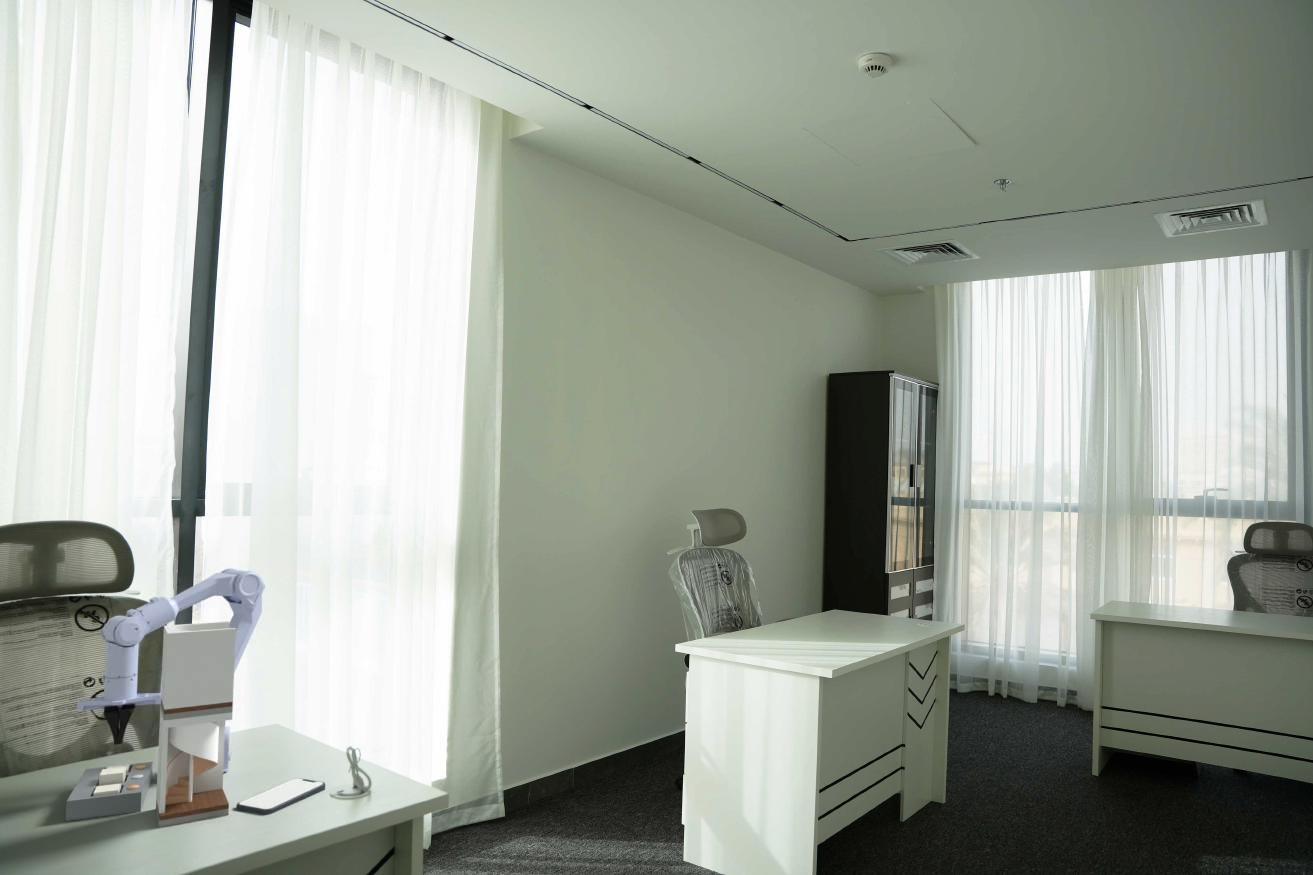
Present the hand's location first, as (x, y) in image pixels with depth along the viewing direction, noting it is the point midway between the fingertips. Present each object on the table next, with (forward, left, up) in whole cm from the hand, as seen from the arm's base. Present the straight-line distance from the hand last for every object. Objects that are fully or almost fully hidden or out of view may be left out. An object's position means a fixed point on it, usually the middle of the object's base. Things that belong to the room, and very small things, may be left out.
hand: (118, 742), depth 174 cm
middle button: (0, +4, -7) cm, 8 cm away
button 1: (0, +10, -9) cm, 13 cm away
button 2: (0, -3, -9) cm, 9 cm away
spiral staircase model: (-15, +18, -10) cm, 25 cm away
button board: (0, +4, -10) cm, 11 cm away
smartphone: (-30, +17, -11) cm, 36 cm away
